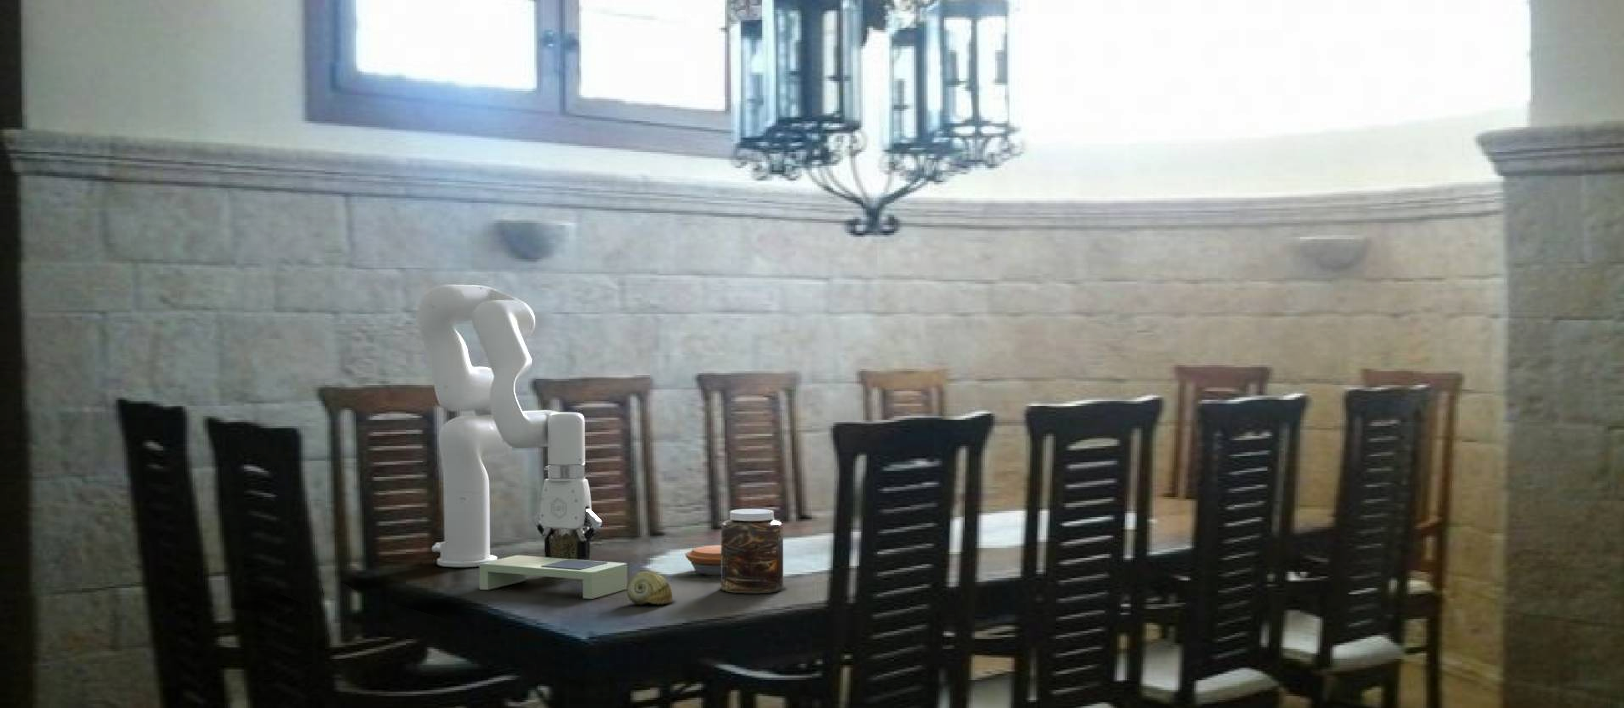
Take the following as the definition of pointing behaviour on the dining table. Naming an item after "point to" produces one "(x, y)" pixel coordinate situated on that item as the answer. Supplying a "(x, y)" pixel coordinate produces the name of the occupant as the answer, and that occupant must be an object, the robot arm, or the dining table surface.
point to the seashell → (649, 589)
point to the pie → (706, 559)
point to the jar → (752, 552)
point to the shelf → (556, 573)
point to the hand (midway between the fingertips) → (567, 558)
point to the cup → (564, 546)
